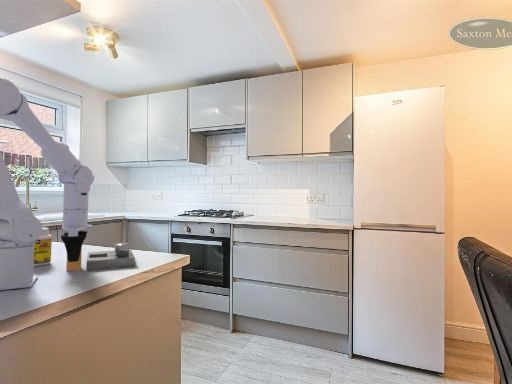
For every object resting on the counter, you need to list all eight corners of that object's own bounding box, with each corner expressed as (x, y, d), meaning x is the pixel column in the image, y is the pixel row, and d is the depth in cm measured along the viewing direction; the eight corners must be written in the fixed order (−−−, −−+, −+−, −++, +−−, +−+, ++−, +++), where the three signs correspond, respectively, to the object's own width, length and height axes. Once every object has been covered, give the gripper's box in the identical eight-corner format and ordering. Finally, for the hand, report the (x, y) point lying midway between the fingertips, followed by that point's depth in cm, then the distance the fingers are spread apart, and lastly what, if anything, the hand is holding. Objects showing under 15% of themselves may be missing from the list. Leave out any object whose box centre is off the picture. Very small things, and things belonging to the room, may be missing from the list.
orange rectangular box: (66, 271, 76) (67, 244, 76) (67, 268, 79) (68, 242, 79) (80, 269, 78) (81, 243, 78) (81, 266, 81) (81, 242, 81)
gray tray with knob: (86, 270, 77) (86, 249, 77) (87, 260, 88) (88, 242, 88) (134, 266, 83) (135, 247, 83) (130, 257, 94) (131, 240, 94)
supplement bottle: (25, 267, 78) (26, 230, 78) (27, 263, 83) (28, 227, 83) (50, 265, 81) (51, 229, 81) (51, 261, 86) (52, 226, 86)
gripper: (92, 211, 74) (90, 264, 74) (93, 207, 87) (91, 252, 87) (59, 211, 71) (57, 266, 71) (65, 207, 83) (63, 254, 83)
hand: (74, 259), depth 79 cm, fingers open, 5 cm apart
